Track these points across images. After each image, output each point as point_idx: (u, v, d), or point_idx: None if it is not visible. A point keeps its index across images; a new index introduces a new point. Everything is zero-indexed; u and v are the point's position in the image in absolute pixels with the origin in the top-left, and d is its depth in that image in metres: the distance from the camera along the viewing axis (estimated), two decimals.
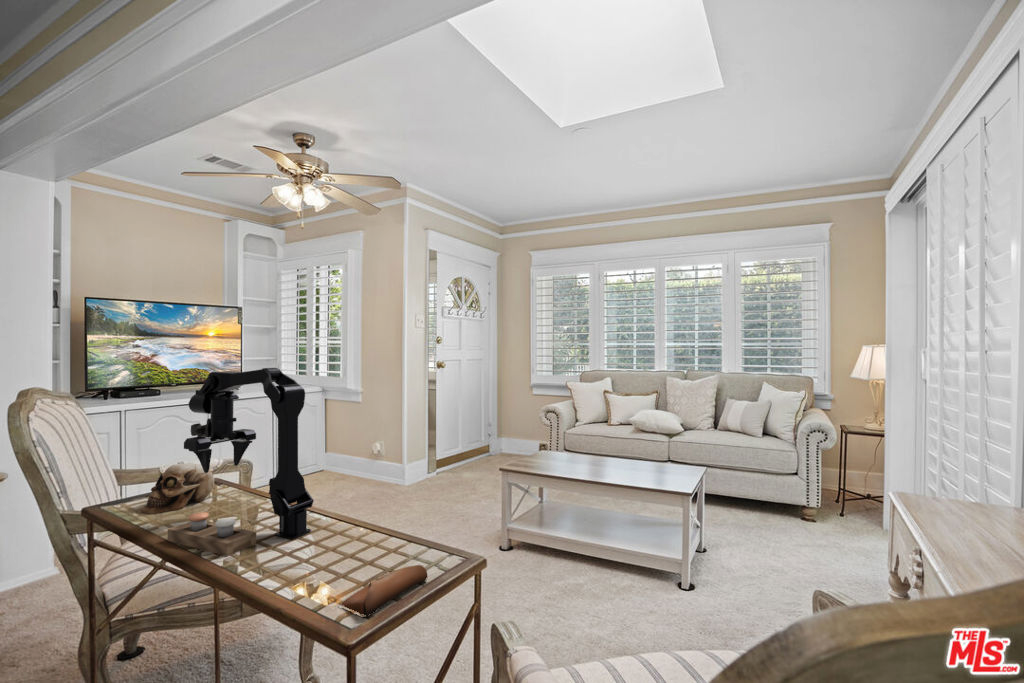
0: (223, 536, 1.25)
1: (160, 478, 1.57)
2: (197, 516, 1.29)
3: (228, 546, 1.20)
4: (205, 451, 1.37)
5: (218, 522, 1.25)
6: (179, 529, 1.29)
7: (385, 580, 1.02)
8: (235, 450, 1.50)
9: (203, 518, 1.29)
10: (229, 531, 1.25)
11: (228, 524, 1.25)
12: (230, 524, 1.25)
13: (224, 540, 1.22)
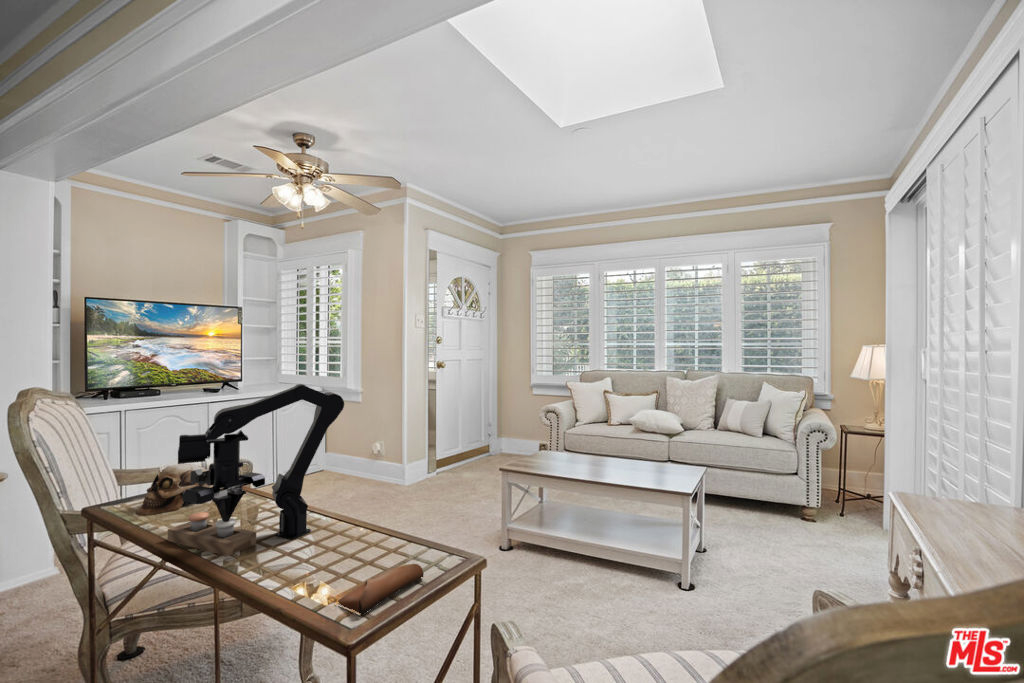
0: (223, 536, 1.25)
1: (156, 479, 1.56)
2: (197, 516, 1.29)
3: (228, 546, 1.20)
4: (224, 499, 1.23)
5: (218, 522, 1.25)
6: (179, 529, 1.29)
7: (381, 578, 1.02)
8: None
9: (203, 518, 1.29)
10: (229, 531, 1.25)
11: (228, 524, 1.25)
12: (230, 524, 1.25)
13: (224, 540, 1.22)
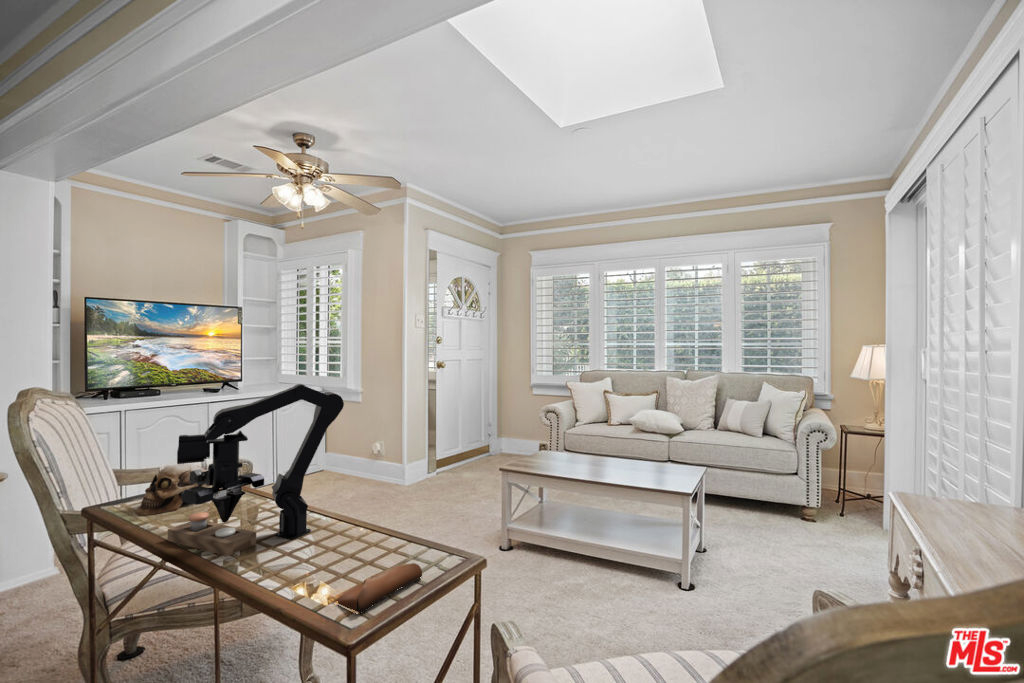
0: None
1: (154, 479, 1.56)
2: (197, 516, 1.29)
3: (228, 546, 1.20)
4: (223, 499, 1.23)
5: (218, 532, 1.25)
6: (179, 529, 1.29)
7: (379, 578, 1.03)
8: None
9: (203, 518, 1.29)
10: None
11: (228, 534, 1.25)
12: (230, 534, 1.25)
13: (224, 540, 1.22)
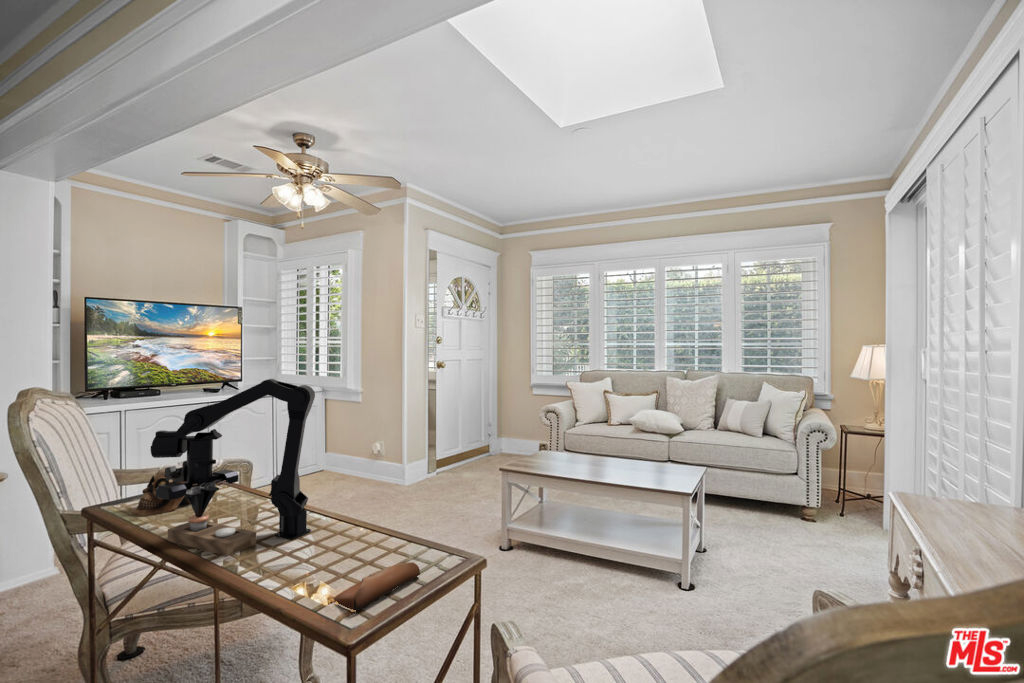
0: None
1: (152, 480, 1.55)
2: (197, 518, 1.29)
3: (228, 546, 1.20)
4: (196, 495, 1.27)
5: (218, 532, 1.25)
6: (179, 529, 1.29)
7: (377, 576, 1.03)
8: None
9: (203, 520, 1.29)
10: None
11: (228, 534, 1.25)
12: (230, 534, 1.25)
13: (224, 540, 1.22)
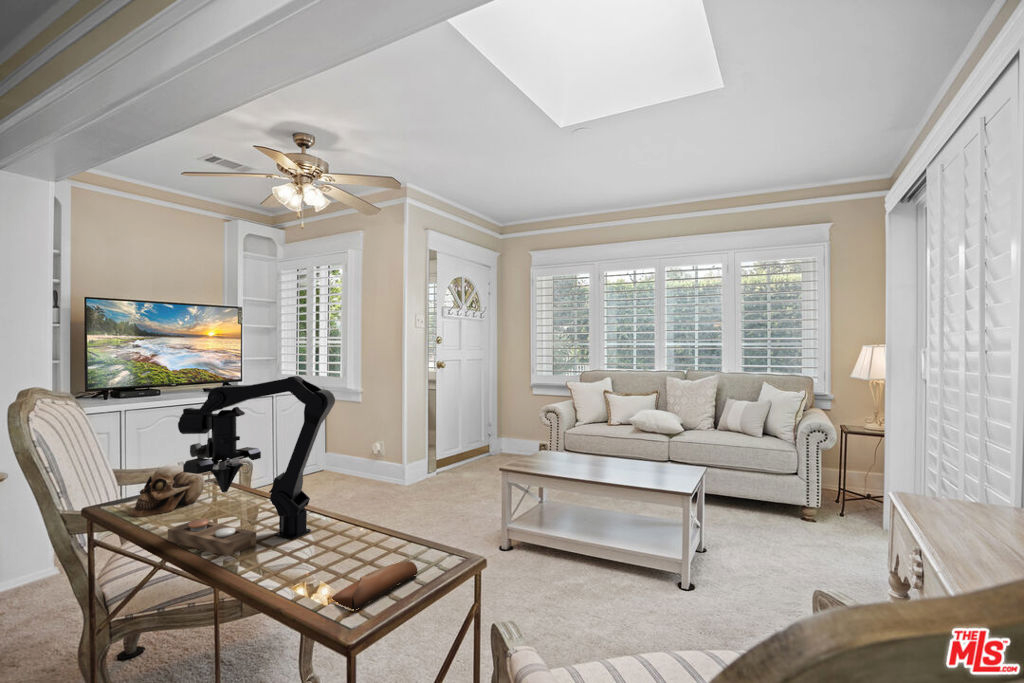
0: None
1: (149, 480, 1.55)
2: (197, 523, 1.29)
3: (228, 546, 1.20)
4: (223, 470, 1.30)
5: (218, 532, 1.25)
6: (179, 529, 1.29)
7: (375, 576, 1.04)
8: None
9: (203, 525, 1.29)
10: None
11: (228, 534, 1.25)
12: (230, 534, 1.25)
13: (224, 540, 1.22)
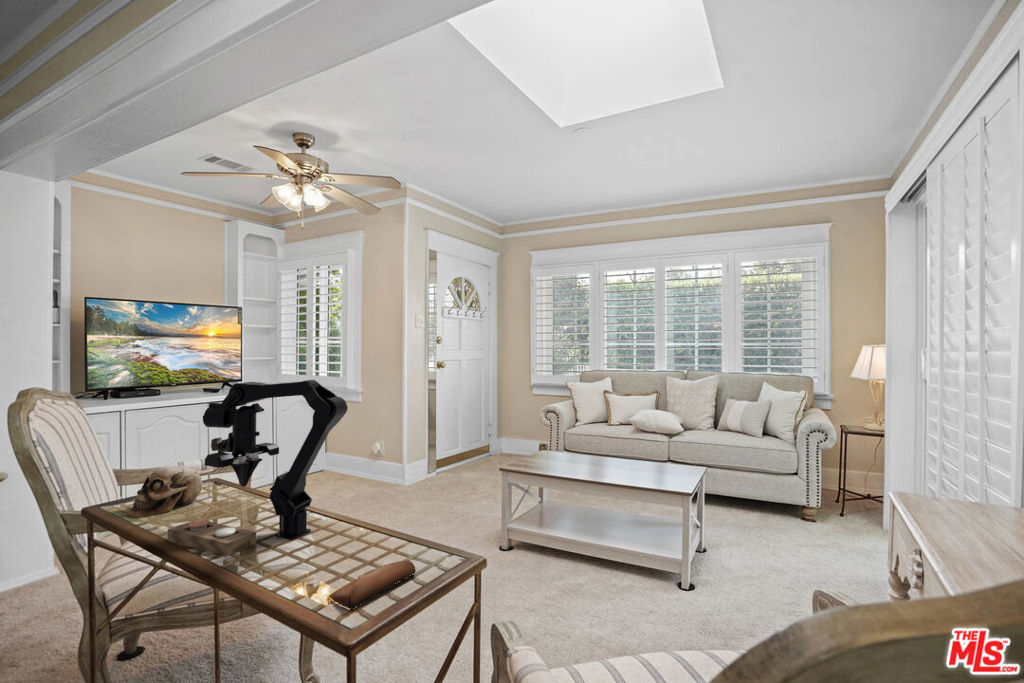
0: None
1: (146, 481, 1.54)
2: (197, 523, 1.29)
3: (228, 546, 1.20)
4: (242, 465, 1.33)
5: (218, 532, 1.25)
6: (179, 529, 1.29)
7: (372, 574, 1.04)
8: None
9: (203, 525, 1.29)
10: None
11: (228, 534, 1.25)
12: (230, 534, 1.25)
13: (224, 540, 1.22)
